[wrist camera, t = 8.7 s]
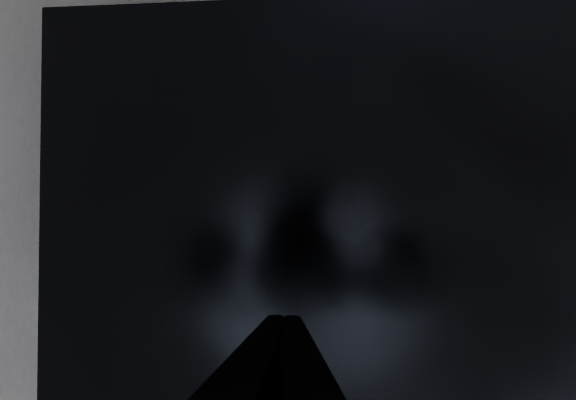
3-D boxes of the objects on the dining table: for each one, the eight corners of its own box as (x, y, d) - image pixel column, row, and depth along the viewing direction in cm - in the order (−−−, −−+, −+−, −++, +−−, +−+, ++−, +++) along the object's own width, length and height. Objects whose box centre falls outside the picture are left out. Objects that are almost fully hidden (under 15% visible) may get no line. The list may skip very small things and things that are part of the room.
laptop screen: (728, 484, 13) (755, 503, 12) (50, 440, 15) (35, 453, 14) (725, -9, 13) (752, -23, 12) (56, 17, 15) (41, 6, 14)
